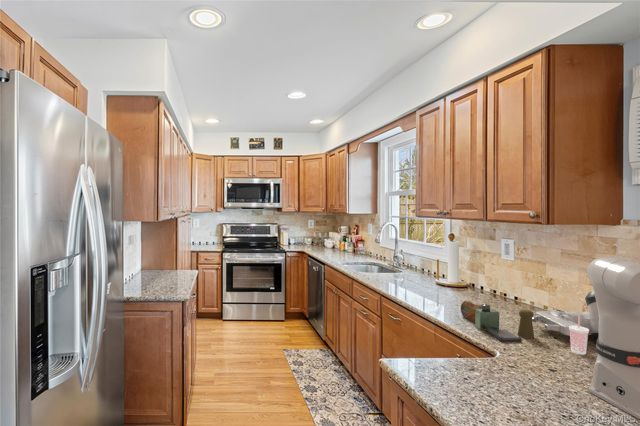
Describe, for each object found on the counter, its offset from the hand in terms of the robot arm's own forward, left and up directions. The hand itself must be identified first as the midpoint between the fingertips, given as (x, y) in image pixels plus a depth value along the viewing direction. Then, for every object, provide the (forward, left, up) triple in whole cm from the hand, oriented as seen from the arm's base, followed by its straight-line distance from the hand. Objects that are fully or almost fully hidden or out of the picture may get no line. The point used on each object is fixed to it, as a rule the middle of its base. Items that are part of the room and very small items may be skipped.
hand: (538, 323), depth 146 cm
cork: (0, +6, -5) cm, 8 cm away
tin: (+20, +19, -6) cm, 28 cm away
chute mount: (+2, +16, -5) cm, 17 cm away
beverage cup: (-16, -4, -5) cm, 18 cm away
